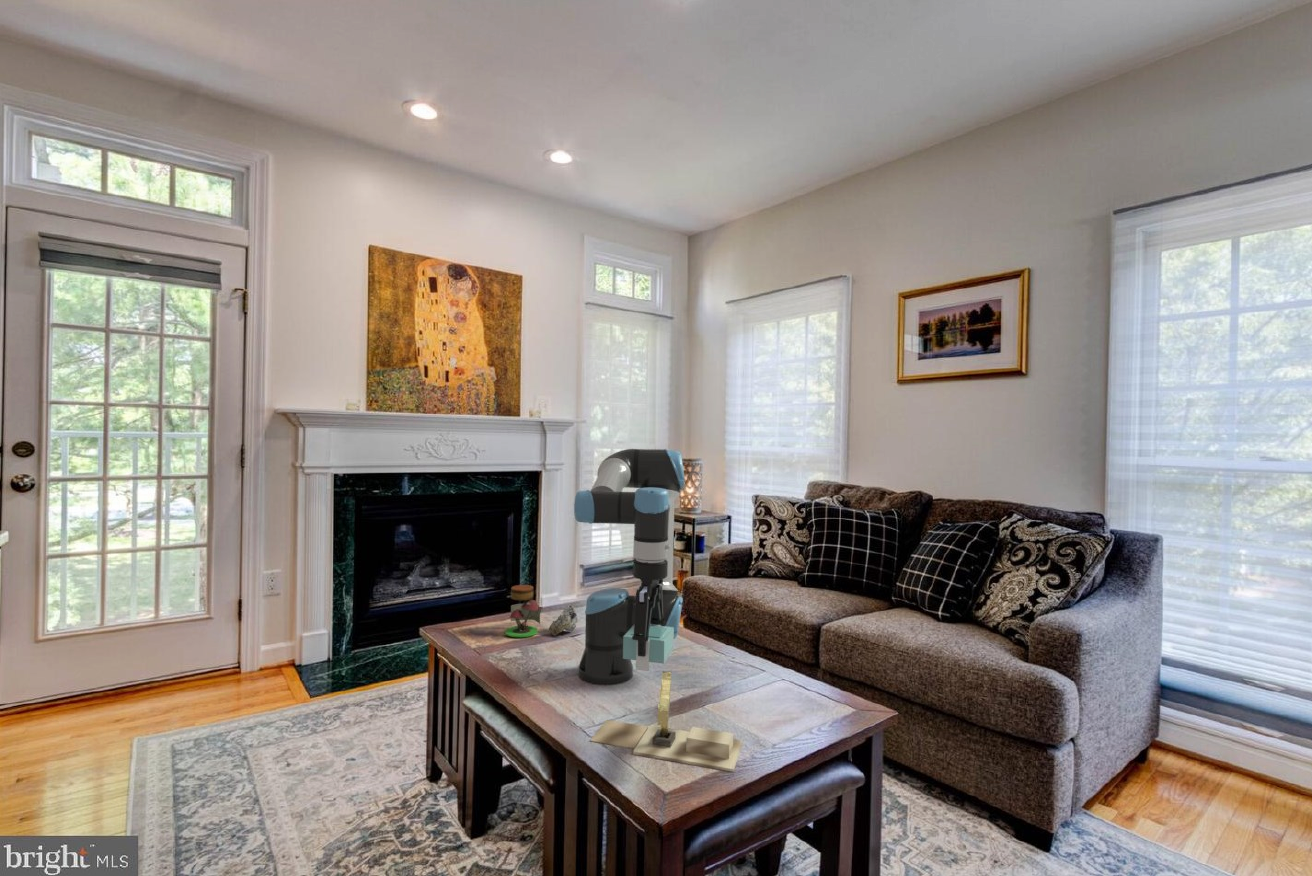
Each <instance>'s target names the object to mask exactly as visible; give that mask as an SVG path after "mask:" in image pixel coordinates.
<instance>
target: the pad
mask: <svg viewBox="0 0 1312 876" xmlns="http://www.w3.org/2000/svg"><path fill="white" fill-rule="evenodd" d="M648 728H649V726H646V725H641V724H636V723H635V724H634V723H629V722H628V723H627V722H622V721H616V720H610V719H606V720H605V722H604V723H603V724H602V725H601V727H599V729H598V730H597V732H596V733H595V734H594V735H593V736H592V737H591V738H590V739H589V742H591V743H592V742H593V743H598V744H603V745H608V746H615V747H620V748H625V749H631V750H634V749H635V748H636V746H637V745H638V743H639V742H640V740H641V738H642V737H643V735H644V734H645V732H646V731H647V729H648Z"/></svg>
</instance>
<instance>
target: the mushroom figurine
mask: <svg viewBox="0 0 1312 876" xmlns="http://www.w3.org/2000/svg"><path fill="white" fill-rule="evenodd" d="M510 599H511V600H513V601H514V600H515V601H526V602H525V603H516V604H512V605H510V616H509V618H510V622H516V625H515V626H511V627H508V628H506V629H505V631H504V634H505V635H506V636H507V637H511V638H527V637H531V636H534V635H536V634H537V633H538V628H537V627H536V626H533V625H529V624H528V622H527V621H528V620H529V621H530V620H531V621H532V620H533V621H535V622H537V623H538V624H539V625H540V623H541V622H540V621H541V612H542V610H543V609H544V607H542V606H539V605H538V602H537V601H536V600H534V586H533V585H530V584H529V585H528V584H518V585H517V584H516V585H513V586H511V588H510ZM521 621H522V622H521Z"/></svg>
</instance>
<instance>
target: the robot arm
mask: <svg viewBox="0 0 1312 876" xmlns="http://www.w3.org/2000/svg"><path fill="white" fill-rule="evenodd" d="M596 475H597V477H596V480H595V481H594V483H593V485H592V488H591V490H590V489H587V490H579V491H577V492H576V495H575V496H574V497H575V498H574V504H573V505H574V506H573V507H574V508H573V512H574V519H575V520H576V521H577V522H579V523H584V524H585V523H586V524H591V525H592V524H607V525H608V524H612V525H613V524H615V525H616V524H617V525H619V524H620V525H634V527H633V529H634V535H633V552H632V553H633V558H634V560H633V562H632V565H633V566H632V575H633V577H634V578H635V579H638V580H640V581H641V583H640V584H639V586H638V587H637V588H636V591H635V595H629V594H630V593H629V591H628V590H627V589H625V588H620V587H617V588H616V587H615V588H606V589H600V590H597V591H594V592H592V593H591V594H590V595H589V596H588V597H587V598H586V603H585V604H586V605H585V606H586V607H585V611H584V613H585V633H584V634H585V636H584V637H585V641H584V642H585V643H584V650H583V652H582V656H581V659H580V662H579V664H578V671H577V675H578V678H579V680H580V681H583V682H584V683H586V684H587V683H588V684H590V685H595V686H612V685H613V686H615V685H619V684H623V683H626V682H628V681H630V679H632V677H633V674H634V666H633V664H632V660H630V659H623V636H624V635H625V634H626V633H627V632H628V631H629V630H630V629H631V627H632V626H633V625H634V636H632V639H633V640H636V660H635V670H636V671H644V672H649V671H650V662H649V650H650V640H649V639H648V638H649V637H648V636H649V629H650V625H657V626H666V627H674V640H675V639H676V638H677V637H678V634H679V627H680V621H681V613H682V608H683V607H682V606H683V601H684V600H683V597H682V596H678V595H679V594H678V593H679V591H678V588H676V586H675V585H674V584H673V581H674V580H673V579H674V577H673V576H674V575H673V572H674V540H675V539H674V535H675V534H674V530H675V501H676V499H677V498H679V496H680V495H681V491H682V490H684V489H685V487H686V485H685V473H684V464H683V458H682V454H681V452H680V451H678V450H675V449H674V450H673V449H667V448H665V449H664V448H663V449H659V448H658V449H656V448H655V449H653V448H651V449H649V448H648V449H647V448H646V449H645V448H643V449H642V448H640V449H639V448H627V449H623V450H619V451H617V452H614V453H612V454H610V455H609V456H607V457H606V458H604V460H602V462H601V463H599V466H598V468H597V473H596ZM624 488H633V489H636V490H635V491H623V489H624ZM641 634H642V635H641Z"/></svg>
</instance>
